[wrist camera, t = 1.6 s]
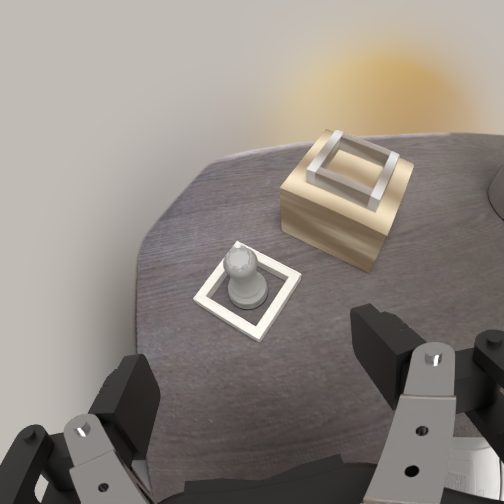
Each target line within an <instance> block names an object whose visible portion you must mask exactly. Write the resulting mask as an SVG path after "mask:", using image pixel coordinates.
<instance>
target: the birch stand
mask: <svg viewBox="0 0 504 504" xmlns="http://www.w3.org/2000/svg"><path fill="white" fill-rule="evenodd" d="M413 166H414V164H412V163H410V162H408V161H406V160H403V159H401V158H399V154H397V153H395V152H392V151H390V150H388V149H385V148H383V147H380V146H378V145H376V144H373V143H371V142H368V141H365V140H363V139H360V138H358V137H355V136H352V135H350V134H347V133H344V132H341V131H338V130H335V132H333V131H330V130H327V129H326V130H325V131H324V133H323V134H322V135H321V136H320V138H319V139H318V140H317V141H316V143H315V144H314V145H313V146H312V148H311V149H310V150H309V151H308V153H307V154H306V155H305V157H304V158H303V159H302V160H301V162H300V163H299V164H298V165H297V167H296V168H295V169H294V170H293V172H292V173H291V174H290V176H289V177H288V178H287V179H286V181H285V182H284V183H283V184H282V186H281V187H280V200H281V227H282V231H283V232H285V233H287V234H289V235H291V236H293V237H295V238H297V239H299V240H302V241H304V242H306V243H308V244H310V245H312V246H314V247H316V248H318V249H320V250H322V251H324V252H326V253H328V254H330V255H332V256H335V257H337V258H339V259H341V260H343V261H345V262H347V263H349V264H351V265H353V266H355V267H357V268H359V269H361V270H363V271H365V272H367V273H369V272H370V270H371V268H372V266H373V264H374V262H375V260H376V258H377V256H378V254H379V252H380V250H381V248H382V246H383V244H384V241H385V239H386V237H387V235H388V232H389V230H390V228H391V225H392V223H393V220H394V218H395V215H396V213H397V210H398V208H399V205H400V202H401V200H402V197H403V194H404V192H405V189H406V186H407V184H408V181H409V178H410V175H411V172H412V169H413Z"/></svg>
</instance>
